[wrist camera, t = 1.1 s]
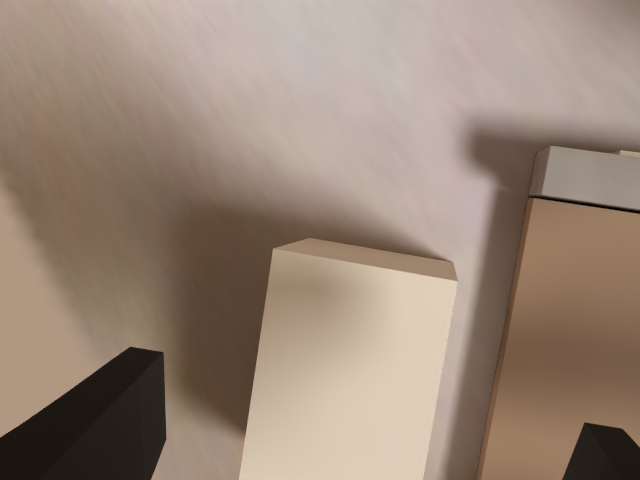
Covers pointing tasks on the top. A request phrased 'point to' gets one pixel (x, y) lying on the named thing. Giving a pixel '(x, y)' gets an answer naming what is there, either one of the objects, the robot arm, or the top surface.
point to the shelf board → (565, 340)
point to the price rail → (588, 177)
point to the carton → (347, 364)
